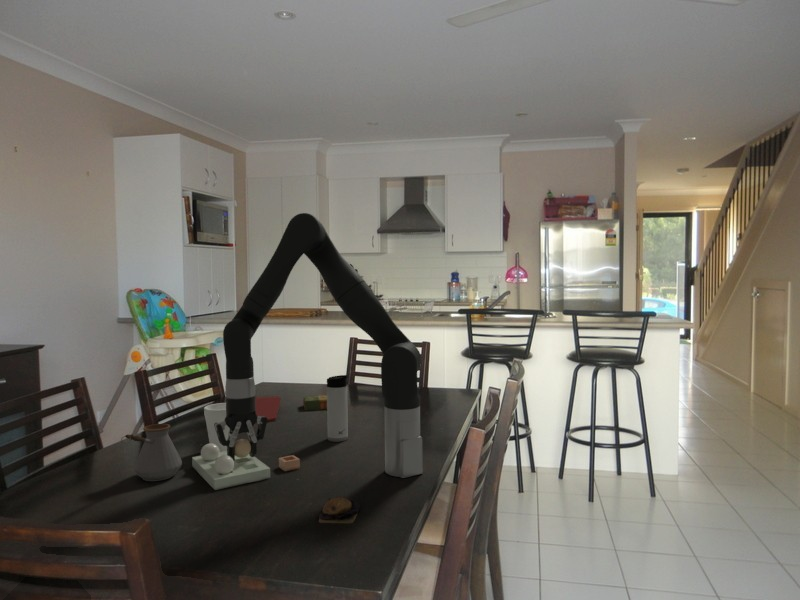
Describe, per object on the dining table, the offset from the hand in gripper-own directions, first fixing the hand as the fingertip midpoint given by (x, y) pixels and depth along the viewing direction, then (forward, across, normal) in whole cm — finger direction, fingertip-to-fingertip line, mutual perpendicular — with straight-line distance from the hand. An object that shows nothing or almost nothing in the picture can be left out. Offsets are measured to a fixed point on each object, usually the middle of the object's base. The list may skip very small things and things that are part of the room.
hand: (242, 457), depth 155 cm
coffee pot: (+3, -22, +4) cm, 23 cm away
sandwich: (+4, +8, -40) cm, 41 cm away
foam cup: (+3, +1, +20) cm, 20 cm away
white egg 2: (+1, -7, -6) cm, 9 cm away
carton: (+4, +50, +52) cm, 72 cm away
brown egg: (0, 0, 0) cm, 0 cm away
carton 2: (+4, +26, +56) cm, 62 cm away
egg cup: (+3, +11, -6) cm, 13 cm away
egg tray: (+3, -3, 0) cm, 5 cm away
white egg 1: (+1, -7, +6) cm, 9 cm away
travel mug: (+3, +34, +10) cm, 35 cm away
